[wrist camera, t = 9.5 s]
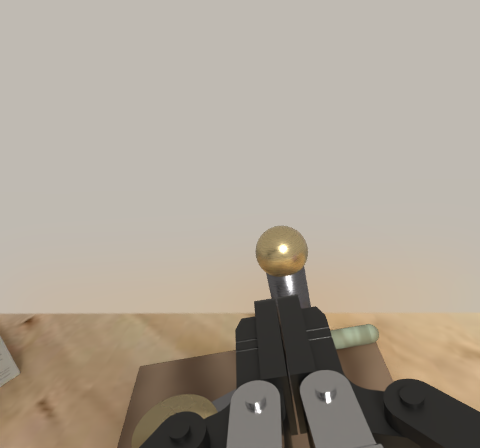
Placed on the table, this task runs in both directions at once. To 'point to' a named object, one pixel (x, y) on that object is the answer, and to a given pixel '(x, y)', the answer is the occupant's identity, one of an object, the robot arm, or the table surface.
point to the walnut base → (224, 377)
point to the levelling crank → (281, 284)
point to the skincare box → (7, 365)
